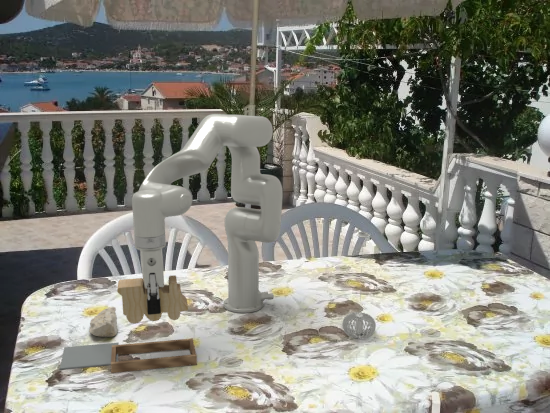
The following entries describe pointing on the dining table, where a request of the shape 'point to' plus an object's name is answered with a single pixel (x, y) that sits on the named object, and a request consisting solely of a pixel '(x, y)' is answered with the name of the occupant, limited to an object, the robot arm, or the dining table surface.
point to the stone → (104, 323)
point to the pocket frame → (153, 362)
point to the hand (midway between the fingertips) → (153, 307)
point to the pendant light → (359, 315)
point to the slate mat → (87, 356)
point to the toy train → (138, 295)
